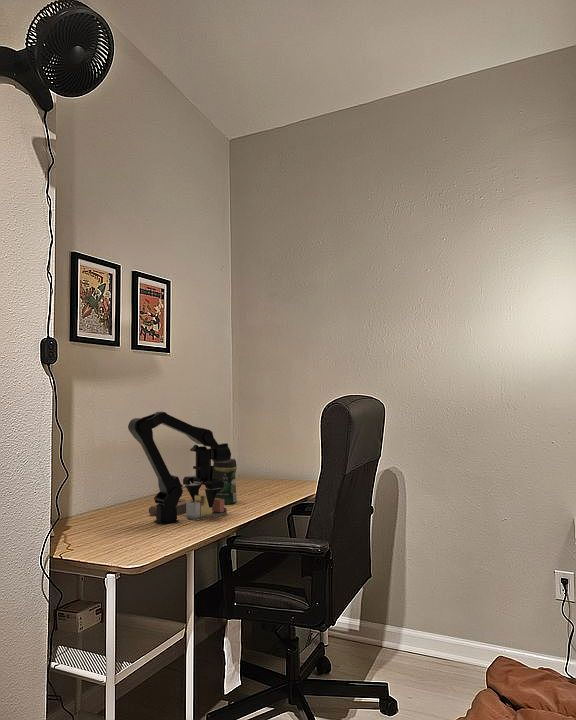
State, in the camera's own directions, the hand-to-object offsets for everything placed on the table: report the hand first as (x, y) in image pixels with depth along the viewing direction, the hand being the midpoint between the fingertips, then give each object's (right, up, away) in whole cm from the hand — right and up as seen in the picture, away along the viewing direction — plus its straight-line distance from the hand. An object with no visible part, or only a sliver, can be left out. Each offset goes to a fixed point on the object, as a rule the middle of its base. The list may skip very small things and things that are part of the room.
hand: (203, 505), depth 221 cm
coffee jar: (+5, -6, +29) cm, 30 cm away
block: (0, -3, 0) cm, 3 cm away
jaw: (+5, -3, +4) cm, 7 cm away
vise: (+1, -4, +1) cm, 4 cm away
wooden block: (-10, -3, +18) cm, 21 cm away
